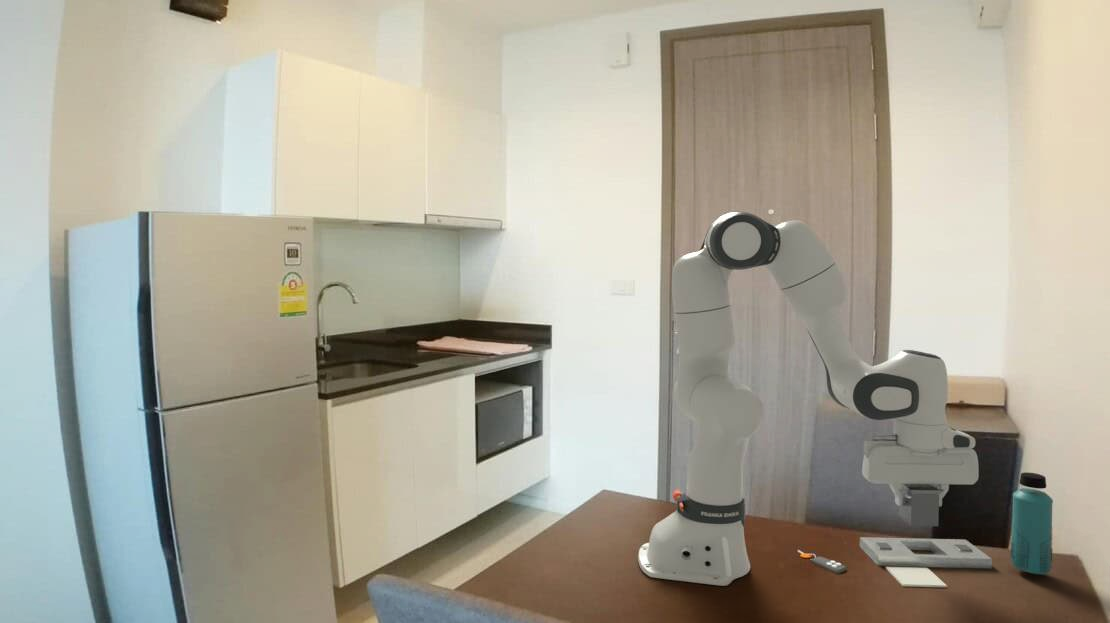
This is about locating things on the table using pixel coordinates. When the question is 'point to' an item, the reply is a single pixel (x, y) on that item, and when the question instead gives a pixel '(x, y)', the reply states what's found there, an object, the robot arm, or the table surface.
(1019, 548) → the beverage bottle
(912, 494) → the dark grey box
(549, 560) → the table surface
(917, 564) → the cabinet panel
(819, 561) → the key chain
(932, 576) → the pad
